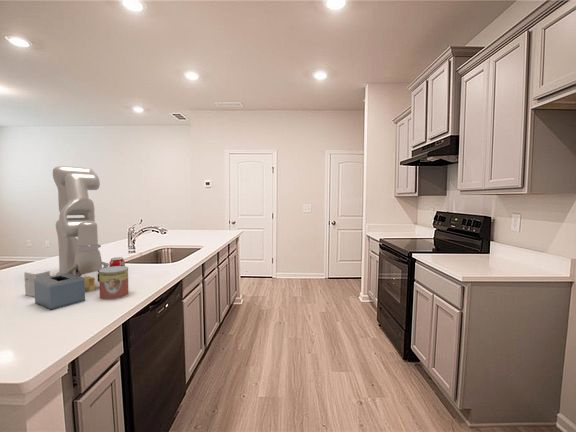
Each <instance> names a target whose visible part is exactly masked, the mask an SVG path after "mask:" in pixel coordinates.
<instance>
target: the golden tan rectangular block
mask: <svg viewBox="0 0 576 432" xmlns="http://www.w3.org/2000/svg"><path fill="white" fill-rule="evenodd" d="M84 279H85V292H93V291H95V290H96V286H95V285H96V284H95V283H96V282H95V281H96V278H95V277H94V276H89V275H88V276H84Z"/></svg>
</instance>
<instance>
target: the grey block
mask: <svg viewBox="0 0 576 432" xmlns="http://www.w3.org/2000/svg"><path fill="white" fill-rule="evenodd" d="M84 277H85V276H84ZM84 277H83V276H82V275H81V276H77V275H74V274H71V273H64V274H59V275H56V274H54V275H50V276H48V277H43V278H38V279H34V289H35V297H34V303H35V304H37V305H39V306H41V307H43V308H45V309H47V310H50V311H53V310H56V309H60V307H61V308H64V307H67V305H68V306H71V305H74V303H75V304H79V303H81V302H85V301H86V295H85V294H86V290H85V279H84ZM70 304H71V305H70ZM63 306H64V307H63Z"/></svg>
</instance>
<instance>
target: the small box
mask: <svg viewBox="0 0 576 432" xmlns="http://www.w3.org/2000/svg"><path fill="white" fill-rule="evenodd" d="M23 274H24V287H25V288H24V289H25V296H28V297H33V298H35V289H34V279H38V278H43V277H48V276H51V271H50V270H46V269H33V270H28V271H24V272H23Z"/></svg>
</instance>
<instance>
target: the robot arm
mask: <svg viewBox="0 0 576 432" xmlns="http://www.w3.org/2000/svg"><path fill="white" fill-rule="evenodd" d="M52 178H53V181H54V183H55V185H56V188H57V191H58V192H57V193H58V196H57V197H58V198H57V200H58V201H57V202H58V211H59V217H58V220H57V221H55V230H56V233H57V234H56V235H57V242H58V266H59V267H58V268H59V271H58V272H56V273H55V275H59V274H64V273H71V274H74V275H77V276H81V277H82V275H85V274H90V273H95V272H97V282H99V270H100V269H102V268H106V267H109V263H107V262H104V261H103V260H102V255H101V251H100V250H99V248H101V244H99V241H98V240H99V238H98V224H97V223H96V220H95V217H96V215H95V204H94V201H93V200H92V199H90V198H89V192H88V191H97V190H99V188H100V185H101V181H100V178H99V176H98V174H97V173H96V172H95V171H94V170H93V169H92V168H89V167H81V166H79V167H78V166H77V167H76V166H68V165H67V166H66V165H61V166H55V167H54V168H53V169H52ZM68 216H83V217H68Z"/></svg>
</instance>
